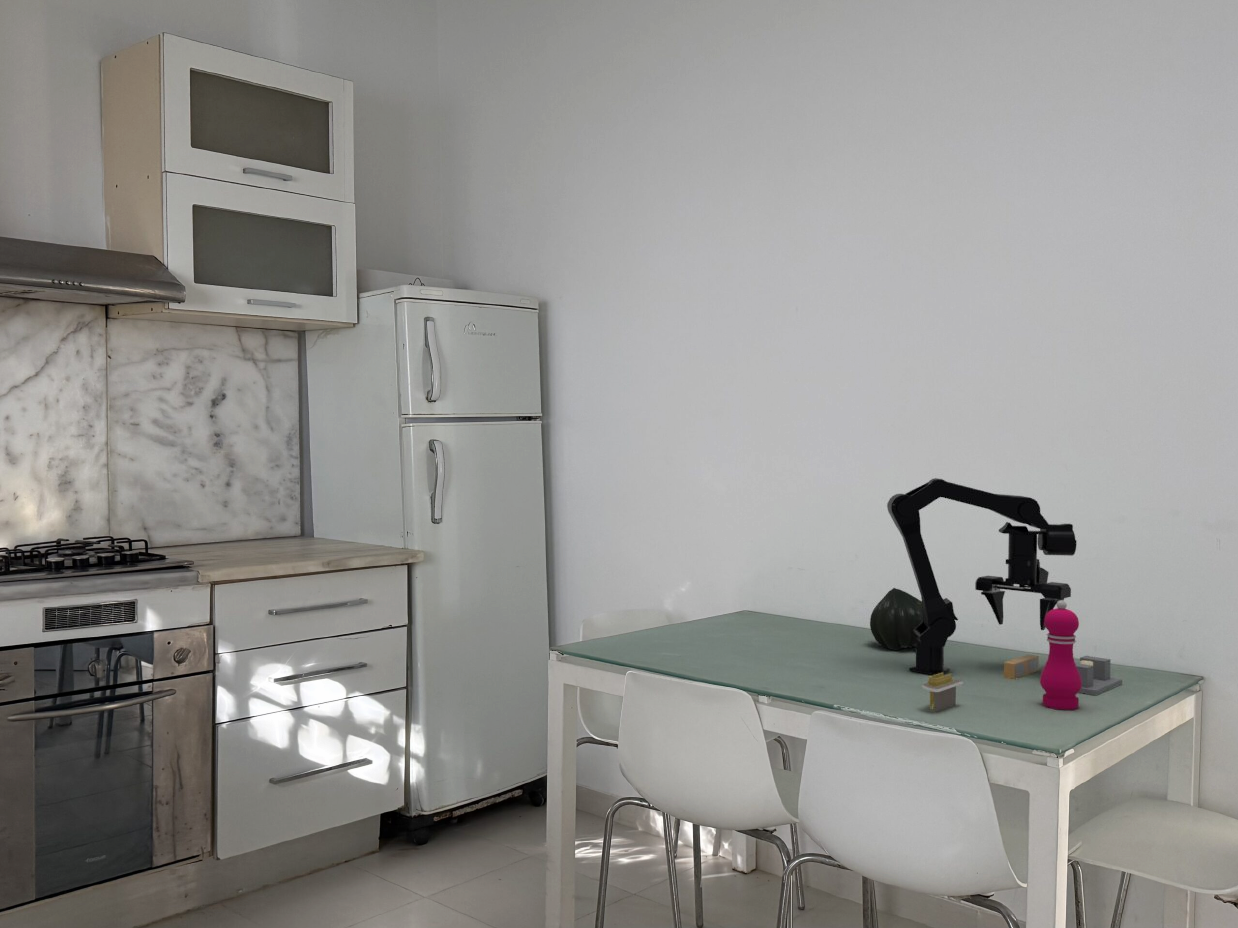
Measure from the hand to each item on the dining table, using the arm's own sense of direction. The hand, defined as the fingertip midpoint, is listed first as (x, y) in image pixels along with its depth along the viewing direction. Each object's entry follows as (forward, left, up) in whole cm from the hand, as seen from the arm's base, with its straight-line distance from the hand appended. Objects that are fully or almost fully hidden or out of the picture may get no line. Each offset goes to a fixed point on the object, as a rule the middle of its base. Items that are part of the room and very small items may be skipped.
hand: (1021, 627), depth 220 cm
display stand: (-1, -14, -10) cm, 17 cm away
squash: (+7, +33, -10) cm, 35 cm away
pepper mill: (-21, -17, -10) cm, 29 cm away
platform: (-39, -2, -11) cm, 40 cm away
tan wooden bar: (0, 0, -10) cm, 10 cm away
